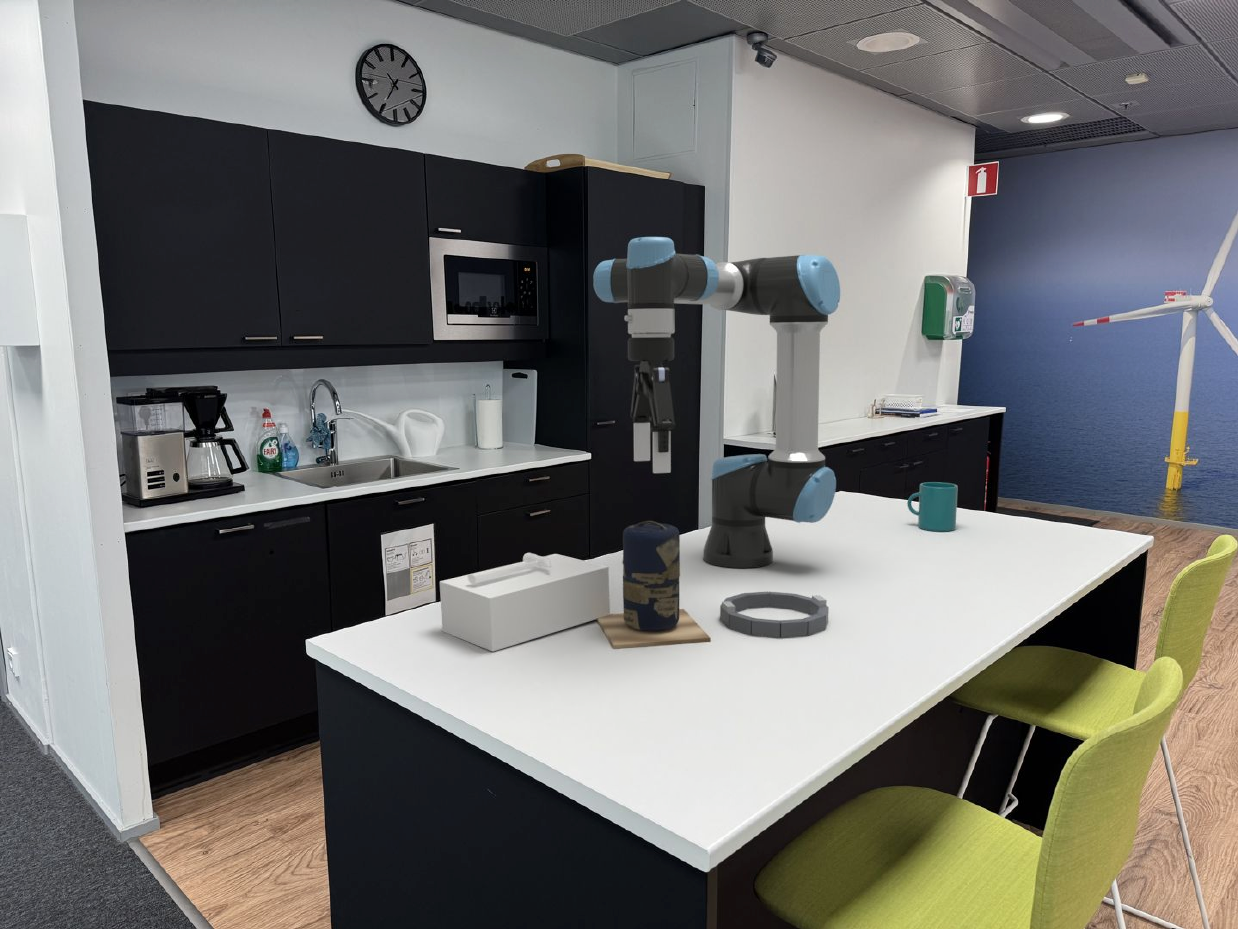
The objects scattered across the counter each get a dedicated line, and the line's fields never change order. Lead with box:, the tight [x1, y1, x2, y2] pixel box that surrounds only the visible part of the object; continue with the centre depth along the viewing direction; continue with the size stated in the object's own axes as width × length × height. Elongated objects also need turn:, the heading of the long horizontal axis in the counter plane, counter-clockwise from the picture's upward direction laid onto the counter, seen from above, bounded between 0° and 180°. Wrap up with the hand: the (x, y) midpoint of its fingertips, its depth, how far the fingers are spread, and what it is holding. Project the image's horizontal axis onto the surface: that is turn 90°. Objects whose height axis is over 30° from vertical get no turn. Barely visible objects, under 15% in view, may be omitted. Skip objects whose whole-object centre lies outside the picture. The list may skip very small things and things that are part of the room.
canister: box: [621, 520, 681, 631], centre depth 152 cm, size 10×10×18 cm
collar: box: [719, 591, 829, 639], centre depth 158 cm, size 18×18×4 cm
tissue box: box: [439, 552, 611, 652], centre depth 155 cm, size 14×25×11 cm, turn 133°
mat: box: [595, 608, 711, 649], centre depth 153 cm, size 16×16×1 cm
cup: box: [906, 481, 959, 533], centre depth 232 cm, size 9×12×11 cm
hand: (651, 466), depth 150 cm, fingers open, 13 cm apart
